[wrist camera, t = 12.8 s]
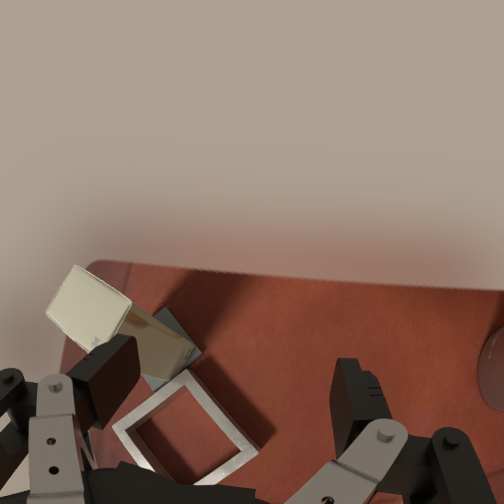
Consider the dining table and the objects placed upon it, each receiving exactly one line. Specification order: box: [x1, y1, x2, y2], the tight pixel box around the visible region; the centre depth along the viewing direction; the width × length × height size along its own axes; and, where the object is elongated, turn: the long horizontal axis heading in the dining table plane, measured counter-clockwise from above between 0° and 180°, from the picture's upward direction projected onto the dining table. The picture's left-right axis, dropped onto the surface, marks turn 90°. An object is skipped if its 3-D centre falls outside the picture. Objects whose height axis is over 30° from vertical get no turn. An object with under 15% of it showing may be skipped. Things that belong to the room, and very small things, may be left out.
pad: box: [142, 307, 203, 392], centre depth 28 cm, size 6×6×1 cm
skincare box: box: [46, 264, 194, 382], centre depth 22 cm, size 6×4×12 cm
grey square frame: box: [112, 369, 261, 485], centre depth 23 cm, size 10×10×2 cm
